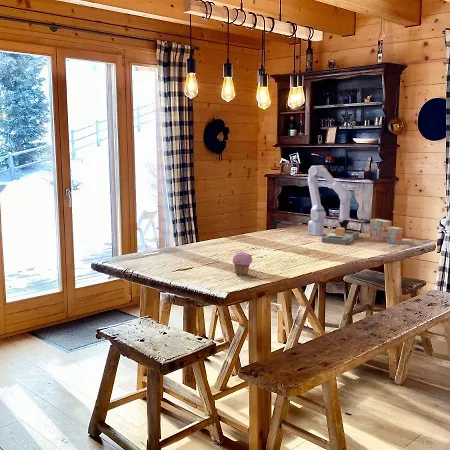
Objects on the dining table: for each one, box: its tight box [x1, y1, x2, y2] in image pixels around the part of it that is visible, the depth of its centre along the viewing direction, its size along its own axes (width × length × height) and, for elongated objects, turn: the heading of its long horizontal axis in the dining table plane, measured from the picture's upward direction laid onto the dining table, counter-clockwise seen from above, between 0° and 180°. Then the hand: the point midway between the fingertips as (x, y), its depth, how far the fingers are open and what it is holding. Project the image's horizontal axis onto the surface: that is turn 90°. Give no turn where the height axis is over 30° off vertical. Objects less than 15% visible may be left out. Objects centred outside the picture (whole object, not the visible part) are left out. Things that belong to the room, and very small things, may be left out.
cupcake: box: [232, 251, 253, 276], centre depth 239 cm, size 9×9×10 cm
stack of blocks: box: [369, 218, 404, 245], centre depth 327 cm, size 21×6×12 cm, turn 28°
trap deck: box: [321, 230, 360, 246], centre depth 329 cm, size 14×32×3 cm, turn 152°
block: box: [334, 226, 345, 236], centre depth 325 cm, size 4×4×4 cm
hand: (343, 232), depth 333 cm, fingers closed
